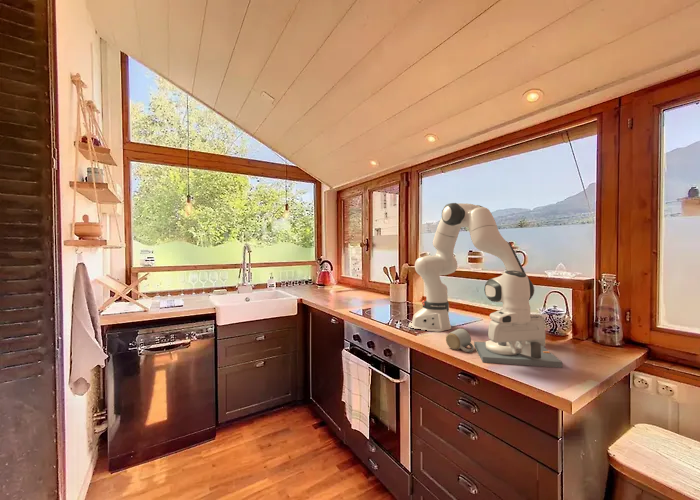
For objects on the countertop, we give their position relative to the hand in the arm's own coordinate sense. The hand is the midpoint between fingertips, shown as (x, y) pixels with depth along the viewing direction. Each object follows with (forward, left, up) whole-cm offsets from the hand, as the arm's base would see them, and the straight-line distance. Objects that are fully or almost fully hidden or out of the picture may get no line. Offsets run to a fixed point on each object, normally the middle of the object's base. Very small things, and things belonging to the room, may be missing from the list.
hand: (517, 352), depth 106 cm
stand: (+1, +9, -4) cm, 10 cm away
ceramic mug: (-18, +13, -4) cm, 23 cm away
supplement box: (+13, +25, -4) cm, 28 cm away
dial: (0, +6, -2) cm, 6 cm away
